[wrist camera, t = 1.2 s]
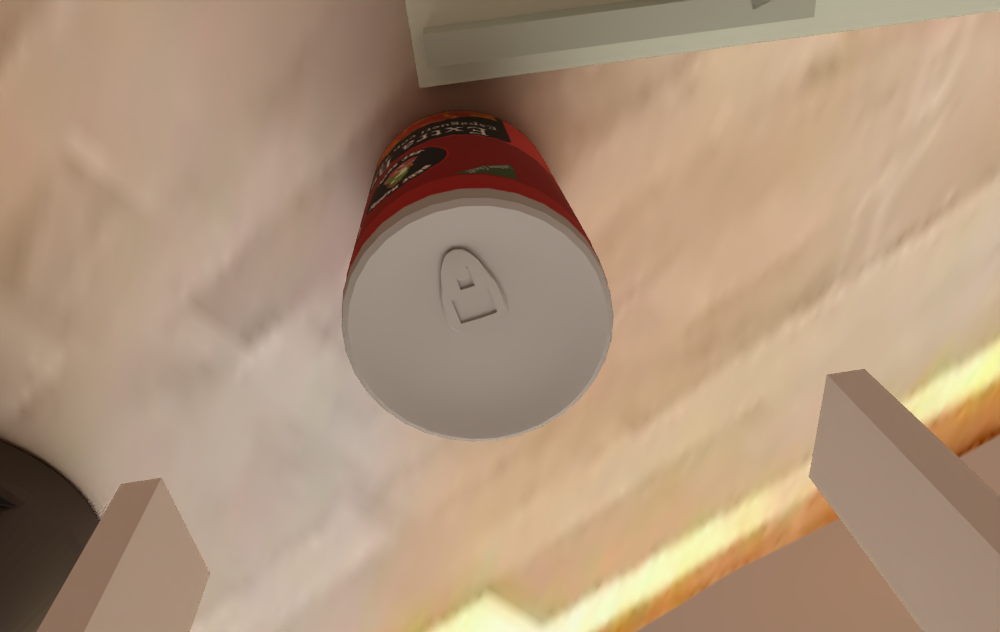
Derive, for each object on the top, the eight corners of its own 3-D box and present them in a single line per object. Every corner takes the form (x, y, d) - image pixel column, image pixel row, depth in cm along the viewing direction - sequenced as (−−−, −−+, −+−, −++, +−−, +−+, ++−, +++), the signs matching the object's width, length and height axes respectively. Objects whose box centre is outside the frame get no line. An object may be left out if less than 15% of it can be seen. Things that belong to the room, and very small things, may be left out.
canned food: (486, 65, 25) (521, 135, 15) (585, 225, 28) (664, 362, 19) (330, 175, 26) (273, 301, 17) (444, 313, 30) (449, 482, 20)
